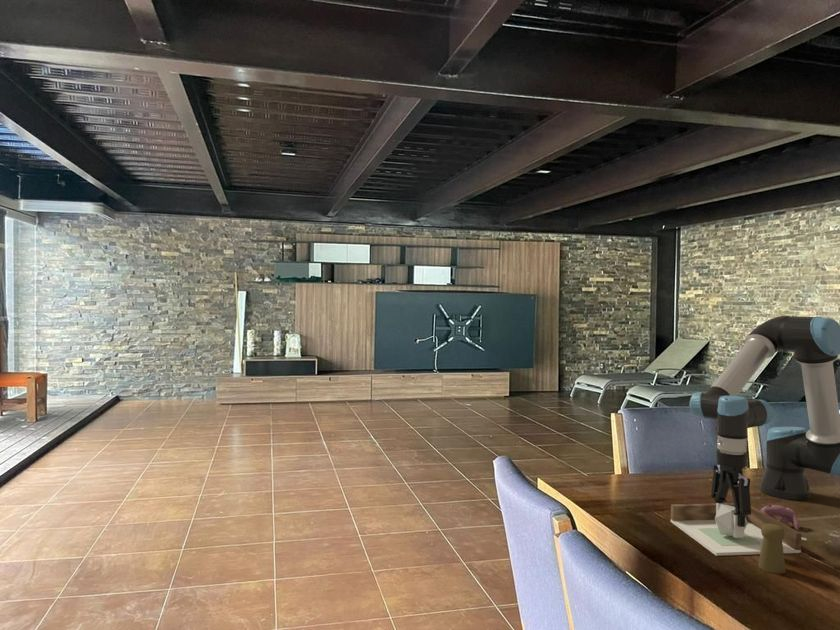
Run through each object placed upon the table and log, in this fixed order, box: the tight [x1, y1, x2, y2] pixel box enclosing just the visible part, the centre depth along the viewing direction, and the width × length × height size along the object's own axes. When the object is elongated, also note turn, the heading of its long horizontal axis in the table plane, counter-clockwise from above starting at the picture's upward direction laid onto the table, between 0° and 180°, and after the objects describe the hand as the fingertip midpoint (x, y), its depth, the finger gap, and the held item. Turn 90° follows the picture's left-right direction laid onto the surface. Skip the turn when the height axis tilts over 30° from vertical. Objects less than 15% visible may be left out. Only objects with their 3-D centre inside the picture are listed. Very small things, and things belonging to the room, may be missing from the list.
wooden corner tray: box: [670, 502, 802, 557], centre depth 174 cm, size 24×24×5 cm
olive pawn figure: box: [757, 524, 786, 574], centre depth 153 cm, size 6×6×11 cm
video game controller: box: [759, 504, 800, 531], centre depth 182 cm, size 10×5×7 cm, turn 72°
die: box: [715, 504, 748, 536], centre depth 171 cm, size 8×9×10 cm
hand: (729, 530), depth 172 cm, fingers closed on die, 8 cm apart
